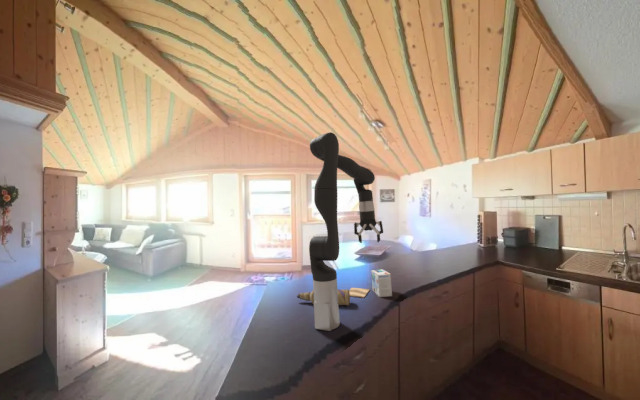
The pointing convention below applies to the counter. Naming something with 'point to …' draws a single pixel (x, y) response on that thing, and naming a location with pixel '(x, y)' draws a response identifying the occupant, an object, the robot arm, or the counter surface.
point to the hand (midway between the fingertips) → (369, 242)
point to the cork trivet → (358, 292)
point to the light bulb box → (381, 283)
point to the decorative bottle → (342, 297)
